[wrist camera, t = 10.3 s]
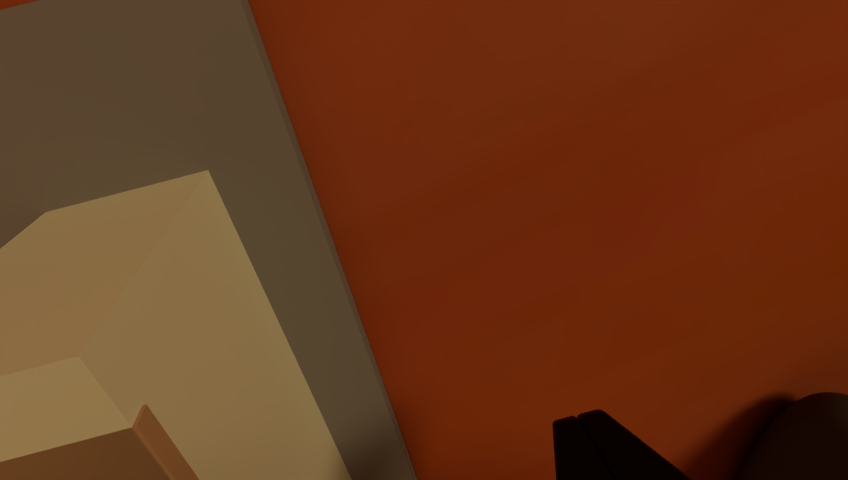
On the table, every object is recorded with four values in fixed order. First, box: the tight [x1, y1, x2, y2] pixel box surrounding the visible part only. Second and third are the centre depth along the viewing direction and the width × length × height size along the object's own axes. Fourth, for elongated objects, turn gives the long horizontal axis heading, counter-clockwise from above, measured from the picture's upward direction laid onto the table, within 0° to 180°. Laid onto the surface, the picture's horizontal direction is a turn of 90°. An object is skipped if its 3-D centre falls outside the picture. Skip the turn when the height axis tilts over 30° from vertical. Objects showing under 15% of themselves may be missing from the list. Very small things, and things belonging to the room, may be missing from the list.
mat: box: [0, 0, 417, 480], centre depth 12 cm, size 13×16×1 cm
